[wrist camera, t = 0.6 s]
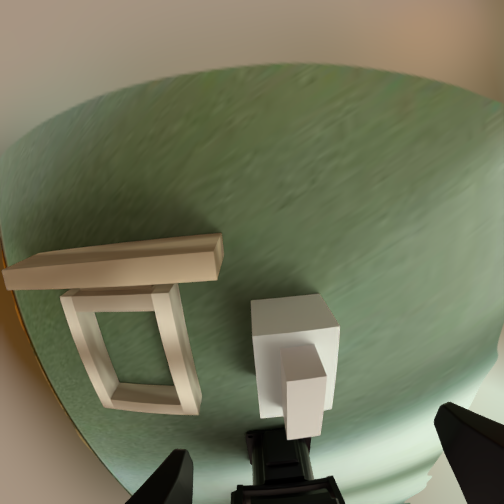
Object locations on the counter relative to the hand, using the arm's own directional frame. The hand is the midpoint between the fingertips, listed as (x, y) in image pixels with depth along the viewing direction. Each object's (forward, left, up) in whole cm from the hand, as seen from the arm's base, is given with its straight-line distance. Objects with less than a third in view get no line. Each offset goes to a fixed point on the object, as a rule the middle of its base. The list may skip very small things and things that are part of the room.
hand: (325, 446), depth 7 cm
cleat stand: (-2, +12, -13) cm, 18 cm away
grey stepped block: (-4, 0, -13) cm, 14 cm away
